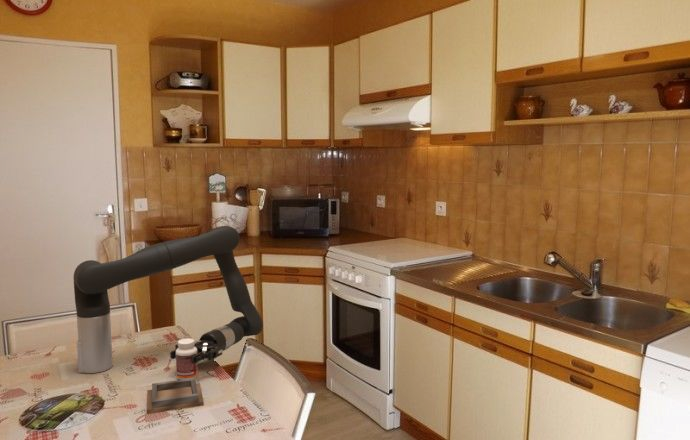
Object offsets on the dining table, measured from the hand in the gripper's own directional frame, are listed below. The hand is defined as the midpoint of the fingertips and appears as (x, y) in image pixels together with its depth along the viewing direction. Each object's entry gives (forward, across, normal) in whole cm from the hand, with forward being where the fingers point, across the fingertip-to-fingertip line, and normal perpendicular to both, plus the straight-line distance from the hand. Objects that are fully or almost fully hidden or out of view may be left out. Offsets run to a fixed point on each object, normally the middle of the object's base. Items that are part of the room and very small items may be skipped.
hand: (181, 358), depth 152 cm
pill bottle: (-2, 0, +7) cm, 7 cm away
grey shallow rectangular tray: (+11, +7, +6) cm, 14 cm away
